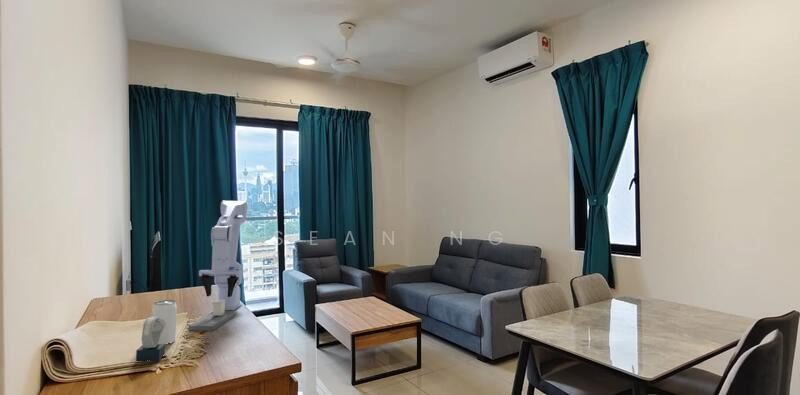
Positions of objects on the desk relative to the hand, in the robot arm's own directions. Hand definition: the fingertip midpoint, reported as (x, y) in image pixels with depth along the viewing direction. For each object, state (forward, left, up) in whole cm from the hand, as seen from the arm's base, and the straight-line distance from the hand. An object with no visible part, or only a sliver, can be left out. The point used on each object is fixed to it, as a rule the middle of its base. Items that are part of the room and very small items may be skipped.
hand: (219, 296), depth 149 cm
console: (+5, 0, -8) cm, 9 cm away
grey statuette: (+39, -1, -9) cm, 40 cm away
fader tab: (0, 0, -7) cm, 7 cm away
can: (+26, -5, -9) cm, 28 cm away
